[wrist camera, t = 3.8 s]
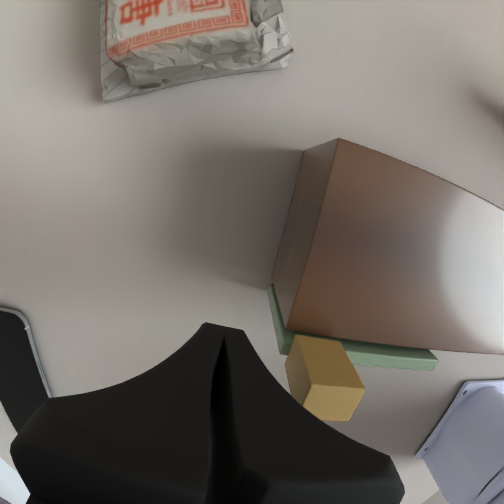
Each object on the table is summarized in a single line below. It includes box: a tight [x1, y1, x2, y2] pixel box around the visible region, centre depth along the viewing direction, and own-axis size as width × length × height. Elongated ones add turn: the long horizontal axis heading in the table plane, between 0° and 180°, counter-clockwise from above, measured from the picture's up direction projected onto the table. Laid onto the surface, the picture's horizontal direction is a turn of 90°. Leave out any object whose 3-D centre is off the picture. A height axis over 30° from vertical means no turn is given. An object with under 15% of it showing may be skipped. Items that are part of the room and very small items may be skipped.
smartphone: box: [0, 307, 52, 433], centre depth 18 cm, size 7×1×15 cm
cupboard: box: [271, 138, 504, 354], centre depth 14 cm, size 7×15×6 cm, turn 76°
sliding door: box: [268, 285, 438, 421], centre depth 13 cm, size 1×8×9 cm, turn 76°
